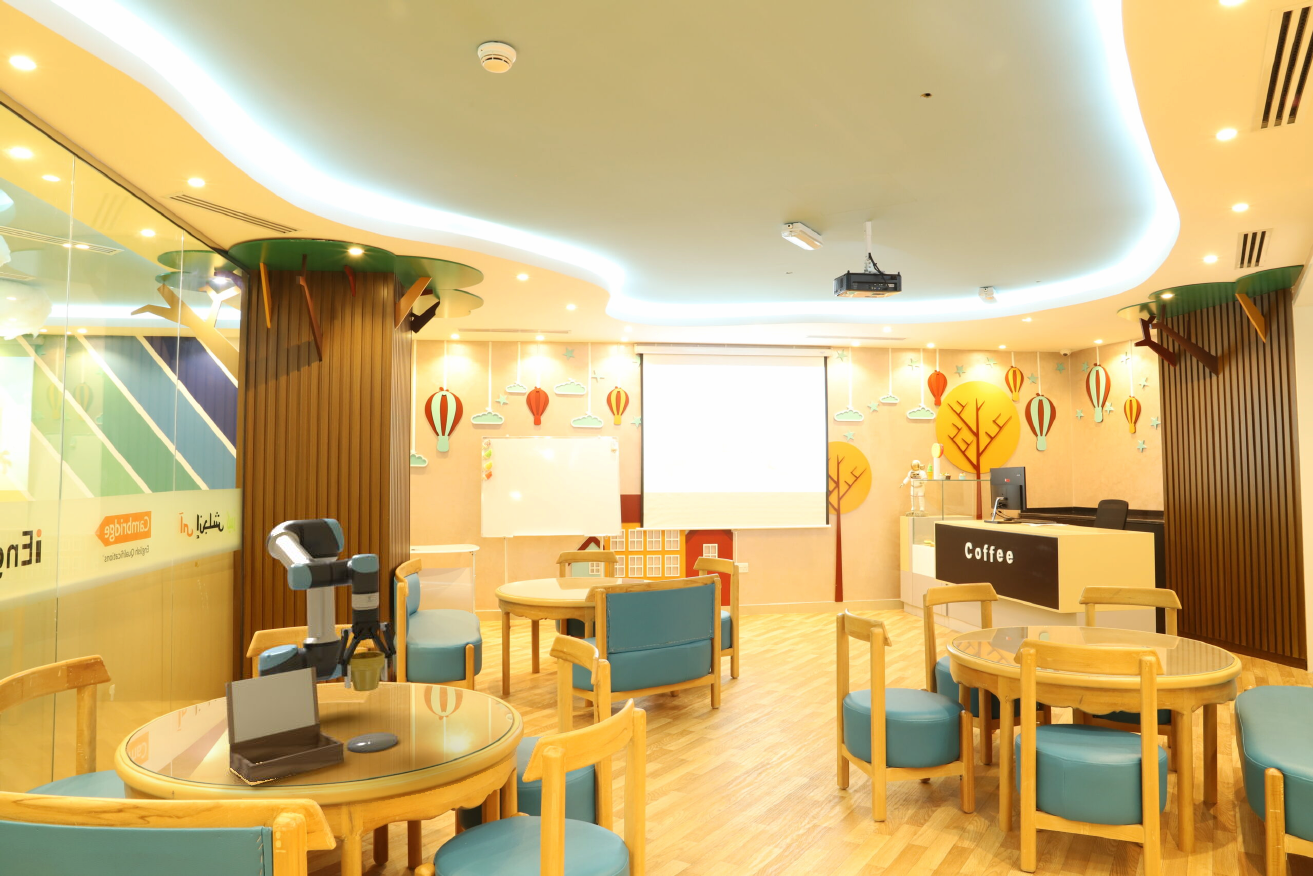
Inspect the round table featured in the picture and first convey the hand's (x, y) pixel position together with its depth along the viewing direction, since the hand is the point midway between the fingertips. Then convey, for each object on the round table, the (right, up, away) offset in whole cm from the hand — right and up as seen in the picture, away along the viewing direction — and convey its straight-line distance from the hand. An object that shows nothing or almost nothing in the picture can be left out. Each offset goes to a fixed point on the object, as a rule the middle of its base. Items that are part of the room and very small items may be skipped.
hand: (366, 684), depth 237 cm
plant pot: (0, -1, 0) cm, 2 cm away
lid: (-23, -11, -9) cm, 27 cm away
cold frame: (-16, -17, -16) cm, 29 cm away
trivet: (+2, -18, 0) cm, 18 cm away
